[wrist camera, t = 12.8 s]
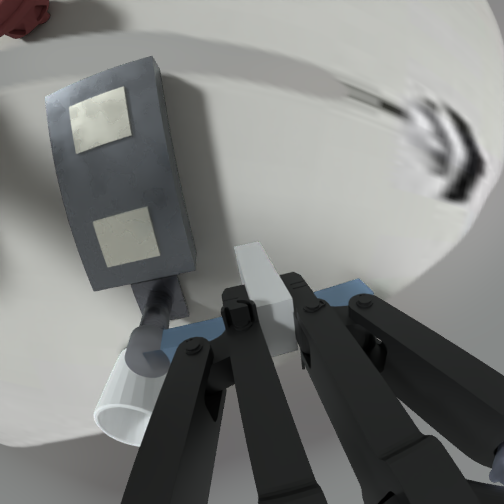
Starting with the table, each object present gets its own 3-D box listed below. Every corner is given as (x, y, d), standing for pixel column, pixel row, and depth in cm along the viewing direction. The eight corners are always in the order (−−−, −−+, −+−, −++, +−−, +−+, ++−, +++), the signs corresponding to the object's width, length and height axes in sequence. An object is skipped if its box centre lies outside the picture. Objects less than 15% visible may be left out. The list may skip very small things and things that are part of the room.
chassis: (106, 272, 32) (92, 293, 27) (65, 101, 24) (43, 96, 19) (196, 252, 33) (195, 272, 28) (159, 69, 25) (151, 54, 20)
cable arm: (140, 360, 27) (136, 380, 24) (123, 329, 25) (116, 348, 22) (359, 305, 29) (372, 320, 26) (358, 269, 27) (373, 283, 24)
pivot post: (147, 320, 35) (136, 363, 27) (132, 282, 33) (114, 320, 25) (189, 313, 36) (187, 356, 28) (176, 272, 34) (169, 311, 26)
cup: (185, 350, 38) (184, 421, 26) (164, 389, 40) (160, 453, 29) (121, 325, 35) (98, 393, 23) (107, 368, 37) (89, 431, 26)
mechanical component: (28, -6, 14) (76, -12, 17) (-3, 52, 17) (42, 50, 20) (-13, -34, 3) (39, -52, 6) (-54, 37, 6) (-12, 26, 8)
